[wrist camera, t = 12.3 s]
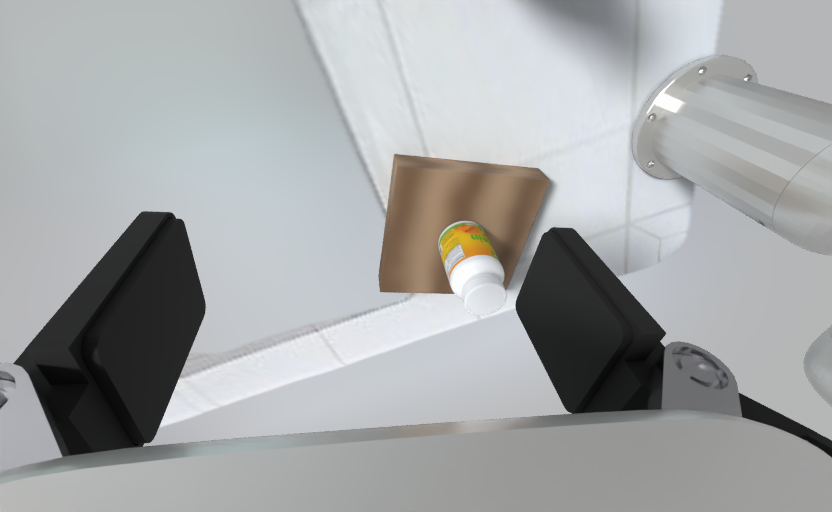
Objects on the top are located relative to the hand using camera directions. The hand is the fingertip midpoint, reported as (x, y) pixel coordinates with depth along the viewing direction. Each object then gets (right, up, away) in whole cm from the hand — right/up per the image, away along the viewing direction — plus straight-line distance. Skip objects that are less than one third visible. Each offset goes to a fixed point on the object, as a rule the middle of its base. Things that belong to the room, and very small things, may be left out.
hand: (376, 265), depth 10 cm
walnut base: (+5, +4, +34) cm, 35 cm away
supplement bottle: (+6, +2, +32) cm, 32 cm away
